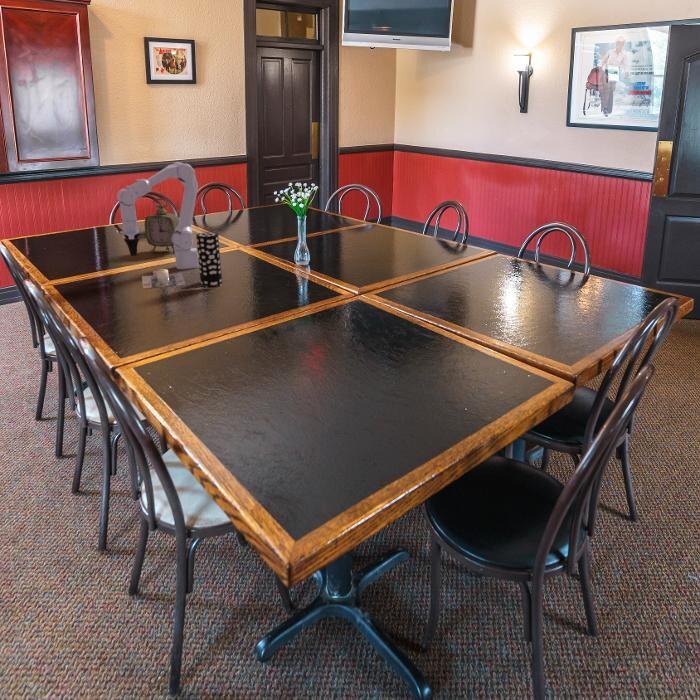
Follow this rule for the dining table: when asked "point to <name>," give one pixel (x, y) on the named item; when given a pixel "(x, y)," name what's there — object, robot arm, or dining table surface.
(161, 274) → the knob
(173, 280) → the hub plate
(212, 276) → the white-spotted black cylinder
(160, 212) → the tabletop clock
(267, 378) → the dining table surface
